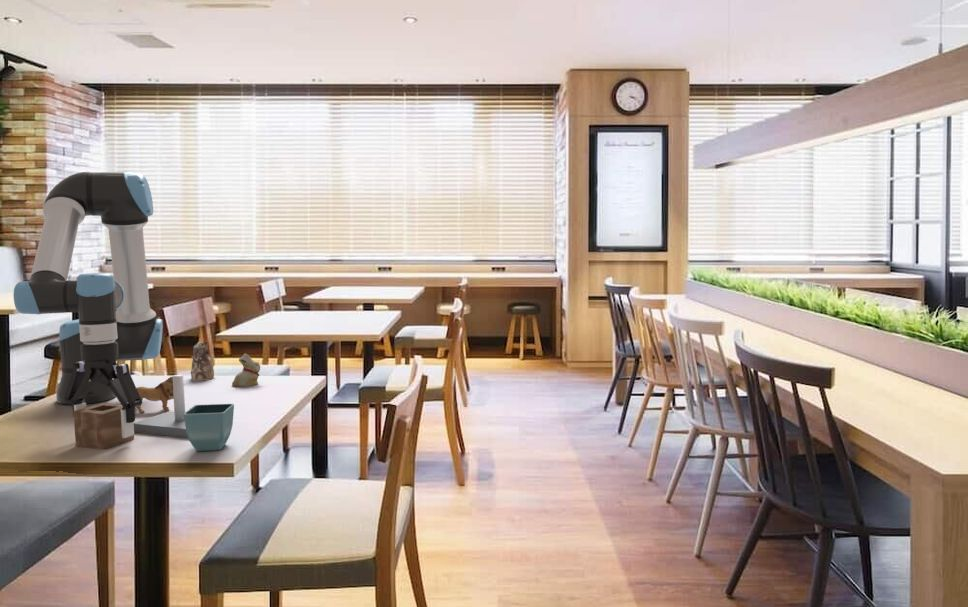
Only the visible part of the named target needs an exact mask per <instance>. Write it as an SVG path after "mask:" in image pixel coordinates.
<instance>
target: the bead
mask: <svg viewBox="0 0 968 607" xmlns="http://www.w3.org/2000/svg"><path fill="white" fill-rule="evenodd" d="M86 407H87V408H83V409H80V410H76V411H74V417H73V424H74V426H73V427H74V437H75V438H74V439H75V446H76V447H82V448H89V449H99V450H107V449H110V448H113V447H116V446H118V445H120V444H124V443H127V442H130V441H133V440H135V434H134V435H133V436H130V437H127V438H122V425H121V409H122V408H123V406H122V405H121V403H113V402H100V403H97V404H94V405H91V406H86Z"/></svg>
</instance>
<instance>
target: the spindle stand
mask: <svg viewBox="0 0 968 607" xmlns="http://www.w3.org/2000/svg"><path fill="white" fill-rule="evenodd" d="M172 376H173V393H174V399H173V408H174V410H173V411H168V412H165V411H164V412H162V413H160V414H156V415H154V416H150V417H148V418H144V419H142V420H138V421H136V422H135V421H134V433H142V434H153V435H161V436H162V435H163V436H170V437H171V436H172V437H178V438H179V437H180V438H182V437H183V438H188V436H187V432H186V427H185V422H184V416H183V414H184V413H185V412H186V404H185V400H186V398H185V383H184V381H185V380H184V375H183V374H175V375H172Z"/></svg>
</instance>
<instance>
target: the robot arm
mask: <svg viewBox="0 0 968 607" xmlns="http://www.w3.org/2000/svg"><path fill="white" fill-rule="evenodd" d="M153 203H154V201H153V197H152V191H151V188H150V184H149V182H148V180H147V178H146V176H145V175H143V174H141V173H138V172H137V173H136V172H128V171H125V172H124V171H111V172H110V171H108V172H107V171H103V172H101V171H98V172H93V171H92V172H91V171H82V172H81V171H80V172H77V173H74V174H71V175H68V176H66V177H65V178H64V179H61V181H59V182H58V183H57V184H56V185H55V186H54V187H52V189H51V190H50V192H49V193H48V195H46V197H45V200H44V204H43V208H42V212H43V214H44V215H43V216H44V217H45V218H44V222H43V227H42V230H41V234H40V238H39V242H38V245H37V249H36V253H35V258H34V262H33V265H32V270H31V273H30V277H29V281H28V280H25V281H20V282H17V283H16V284H15V286H14V288H13V302H14V306H15V309H16V311H17V312H18V313H20V314H23V315H24V314H25V315H45V314H46V315H47V314H48V315H49V314H66V313H67V314H68V313H78V319H73V320H70V321H65V322H63V323H62V324H61V325H60V326H59V328H58V329H59V334H58V335H59V338H58V341H59V350H60V352H59V353H60V366H61V376H60V381H59V385H58V390H57V392H56V396H55V397H56V403H57V404H60V405H67V406H68V405H72V417H73V418H74V411H76V410H80V409H83V408H87V407H88V406H87V404H96V403H97V404H98V403H103V402H106V401H109V400H112V399H115V398H117V400H118V402H119V404H121V405H122V406H123V408H122V409H121V425H122V438H127V437H130V436H133V435H134V436H135V432H134V423H135V421H136V411H135V408H137V406H138V405H142V404H143V400H141V398H140V395H139V393H138V391H137V389H136V388H137V387H136V384H135V382H134V380H133V377H132V375H131V373H130V367H129V364H128V363H122V364H118V363H117V362H122V361H123V362H125V361H144V360H152V359H156V358H157V357H159V355H160V352H161V347H162V341H163V329H164V328H163V327H164V325H163V319H162V318H161V319H160V318H157V313H156V311H154V310H153V309H152V308H151V306H150V295H149V284H148V282H149V281H148V274H147V261H146V252H145V238H144V227H145V226H146V224H148V222H149V217H150V216H153V214H154V206H153V205H154V204H153ZM88 216H94V217H96V216H97V217H100V219H101V224H102V225H103V226H105V227H106V228H107V229H108V235H109V236H108V238H109V248H110V256H111V257H110V258H111V265H112V273H109V272H108V273H107V272H103V273H102V272H94V273H93V272H92V273H80V274H78V275H77V277H76V280H68V278H69V277H68V276H69V273H70V272H69V271H70V268H71V263H72V257H73V255H74V254H73V253H74V248H75V244H76V238H77V234H78V230H79V225H80V224H82V223H83V221H84V220H85V217H88ZM134 400H135V401H134Z"/></svg>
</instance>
